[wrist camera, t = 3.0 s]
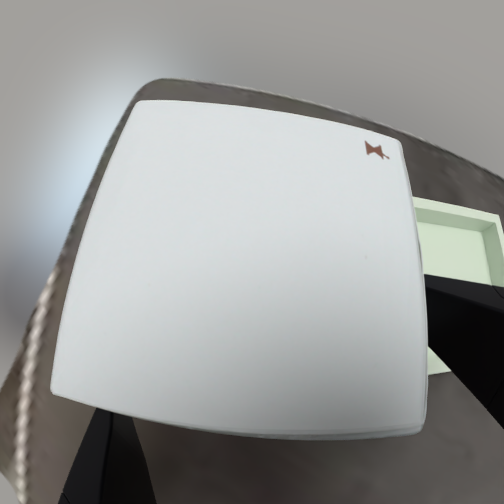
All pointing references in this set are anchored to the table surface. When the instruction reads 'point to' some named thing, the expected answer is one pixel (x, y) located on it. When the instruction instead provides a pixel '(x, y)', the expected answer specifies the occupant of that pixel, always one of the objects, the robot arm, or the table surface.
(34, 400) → the table surface
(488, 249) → the dock tray
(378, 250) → the supplement box
